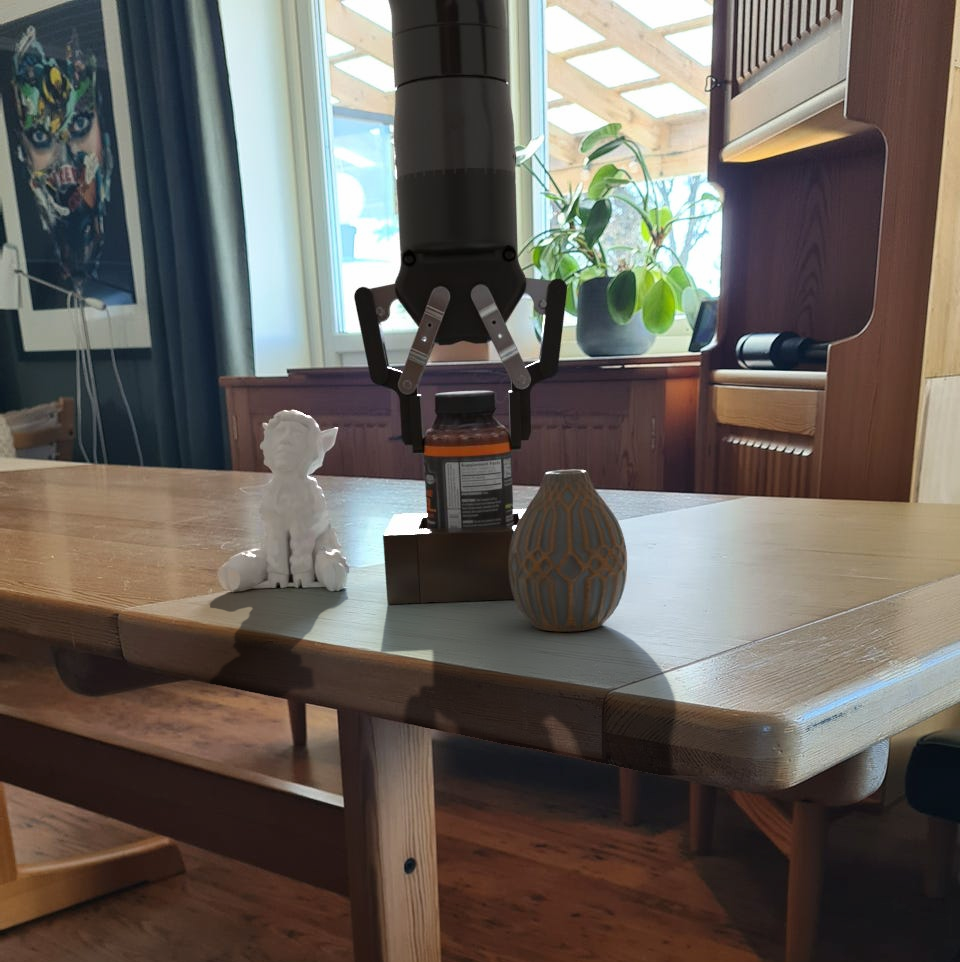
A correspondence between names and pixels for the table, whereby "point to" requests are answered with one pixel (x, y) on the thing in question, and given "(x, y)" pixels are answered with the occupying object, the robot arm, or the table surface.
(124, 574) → the table surface
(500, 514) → the supplement bottle
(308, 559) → the seated beast figurine
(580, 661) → the table surface
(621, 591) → the vase
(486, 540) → the holder
